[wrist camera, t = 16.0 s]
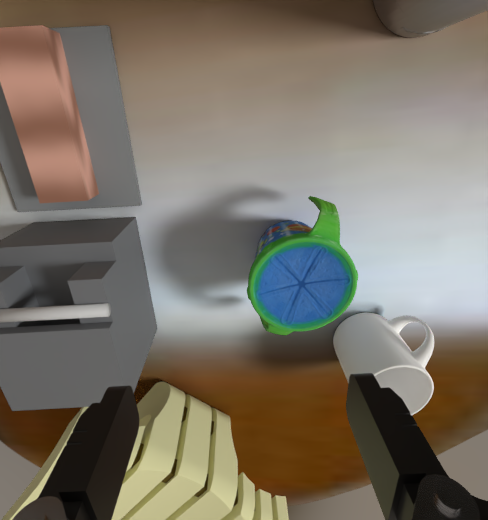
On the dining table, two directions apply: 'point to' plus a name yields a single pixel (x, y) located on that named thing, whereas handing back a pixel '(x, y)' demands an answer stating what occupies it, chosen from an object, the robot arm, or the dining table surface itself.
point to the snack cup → (302, 274)
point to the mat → (94, 125)
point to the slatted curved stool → (176, 466)
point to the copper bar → (46, 113)
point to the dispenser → (72, 312)
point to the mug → (386, 355)
